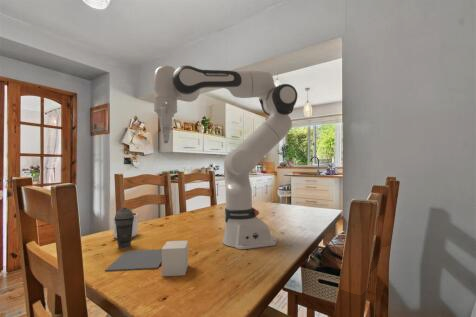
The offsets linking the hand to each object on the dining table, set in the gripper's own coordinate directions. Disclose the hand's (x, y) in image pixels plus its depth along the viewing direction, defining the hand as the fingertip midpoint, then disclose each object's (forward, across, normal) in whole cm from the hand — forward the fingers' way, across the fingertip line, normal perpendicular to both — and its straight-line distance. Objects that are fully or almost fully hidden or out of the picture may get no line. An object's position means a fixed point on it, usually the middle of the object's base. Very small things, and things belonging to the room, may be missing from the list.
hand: (166, 142), depth 91 cm
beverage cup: (+42, +9, +17) cm, 46 cm away
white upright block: (+42, -21, -2) cm, 47 cm away
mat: (+42, -7, +10) cm, 44 cm away
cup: (+42, +24, +18) cm, 52 cm away
